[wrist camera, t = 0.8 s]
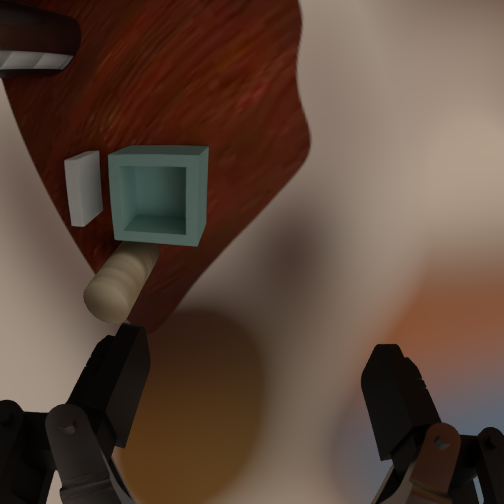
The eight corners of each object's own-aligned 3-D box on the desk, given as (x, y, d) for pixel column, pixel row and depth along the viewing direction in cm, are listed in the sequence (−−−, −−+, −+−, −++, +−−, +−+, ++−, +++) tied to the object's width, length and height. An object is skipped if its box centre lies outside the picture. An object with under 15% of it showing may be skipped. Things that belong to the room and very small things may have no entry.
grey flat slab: (86, 151, 24) (64, 160, 21) (99, 150, 24) (77, 159, 21) (91, 209, 27) (72, 225, 24) (103, 210, 27) (84, 226, 24)
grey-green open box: (130, 145, 24) (108, 154, 20) (208, 146, 24) (198, 155, 20) (133, 219, 28) (114, 239, 24) (205, 224, 28) (197, 246, 24)
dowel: (121, 230, 28) (78, 279, 20) (158, 233, 28) (124, 285, 20) (125, 265, 30) (89, 319, 22) (160, 268, 30) (132, 327, 22)
